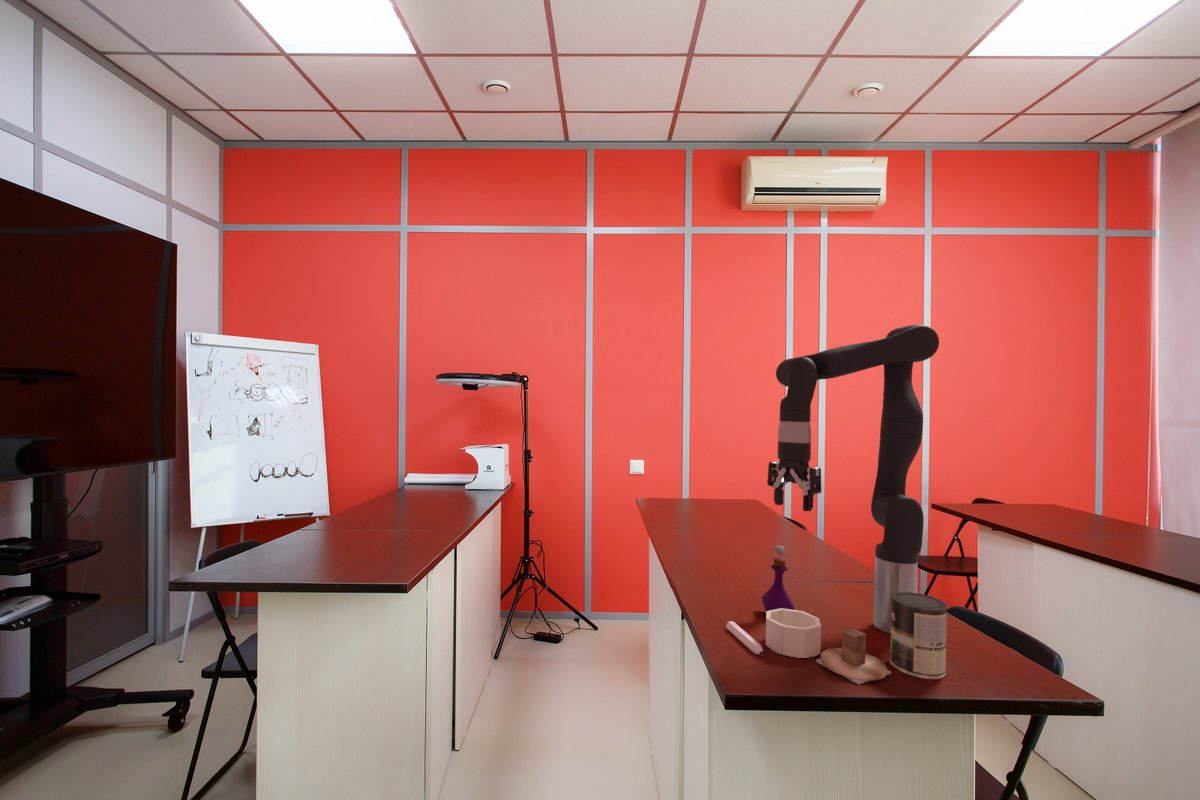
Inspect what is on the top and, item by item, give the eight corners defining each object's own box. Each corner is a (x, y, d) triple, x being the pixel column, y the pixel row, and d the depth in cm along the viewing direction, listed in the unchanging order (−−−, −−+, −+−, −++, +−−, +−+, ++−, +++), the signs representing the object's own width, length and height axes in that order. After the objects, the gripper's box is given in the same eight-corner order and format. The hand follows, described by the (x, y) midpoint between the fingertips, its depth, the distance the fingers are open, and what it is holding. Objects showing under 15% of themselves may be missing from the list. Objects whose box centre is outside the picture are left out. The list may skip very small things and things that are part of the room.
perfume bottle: (794, 623, 135) (796, 551, 135) (763, 619, 136) (765, 548, 136) (790, 612, 142) (792, 543, 142) (761, 609, 144) (762, 541, 144)
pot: (790, 633, 128) (791, 606, 129) (830, 652, 118) (831, 623, 118) (754, 641, 123) (755, 613, 123) (793, 662, 113) (794, 632, 113)
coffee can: (884, 668, 112) (886, 600, 112) (895, 651, 120) (896, 588, 120) (942, 685, 105) (944, 613, 106) (949, 667, 113) (951, 599, 114)
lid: (846, 647, 120) (847, 617, 120) (900, 672, 109) (901, 639, 109) (807, 658, 114) (808, 626, 114) (860, 686, 103) (860, 650, 103)
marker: (763, 664, 114) (729, 632, 130) (771, 658, 115) (736, 627, 130) (758, 654, 114) (724, 623, 130) (766, 648, 114) (731, 618, 130)
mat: (848, 653, 118) (848, 650, 118) (891, 674, 109) (891, 671, 109) (816, 662, 114) (816, 659, 114) (858, 684, 105) (858, 681, 105)
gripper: (830, 442, 125) (828, 512, 125) (782, 438, 138) (780, 502, 137) (807, 442, 121) (805, 514, 121) (761, 438, 134) (759, 503, 134)
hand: (792, 507), depth 129 cm, fingers open, 8 cm apart
